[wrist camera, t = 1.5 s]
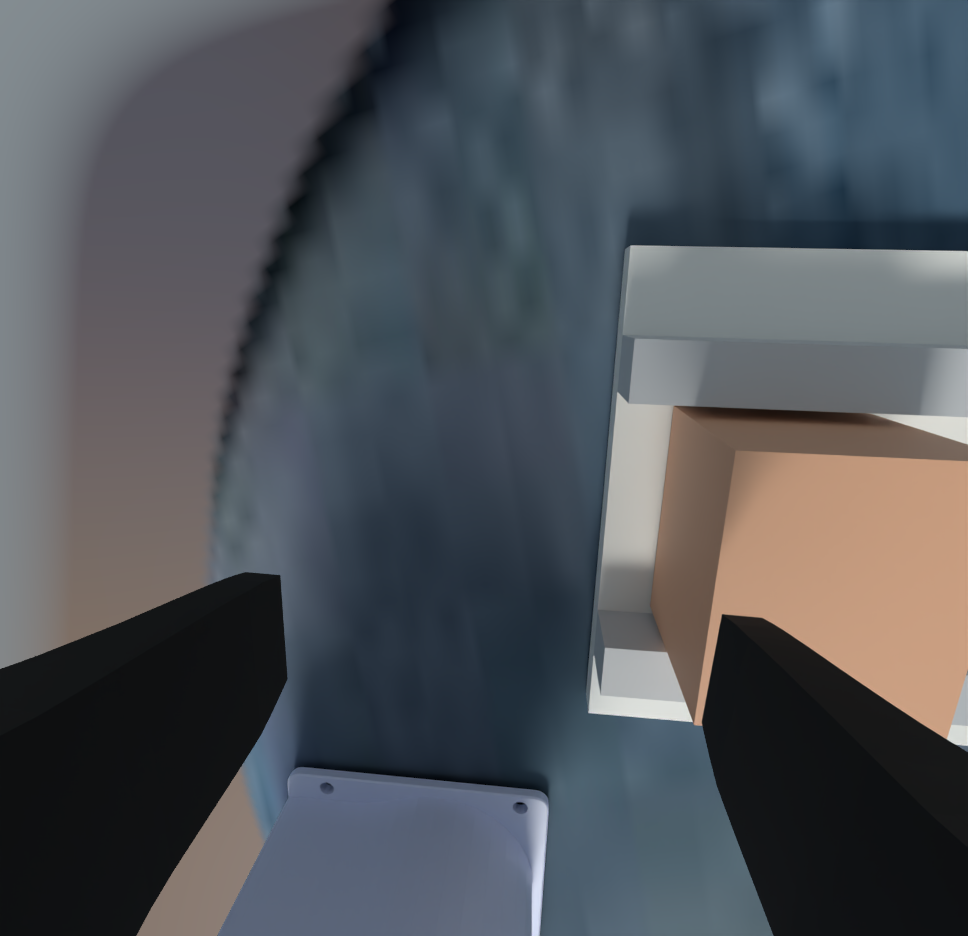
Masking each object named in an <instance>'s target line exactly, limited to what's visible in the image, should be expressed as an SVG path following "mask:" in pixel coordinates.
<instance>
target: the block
mask: <svg viewBox="0 0 968 936" xmlns="http://www.w3.org/2000/svg"><path fill="white" fill-rule="evenodd" d="M650 607H651V610H652V613H653V616H654V618H655V621H656V624H657V626H658V629H659V632H660V634H661V637H662V640H663V643H664V645H665V648H666V651H667V653H668V656H669V659H670V661H671V664H672V667H673V670H674V672H675V675H676V678H677V680H678V683H679V686H680V689H681V691H682V694H683V697H684V699H685V702H686V705H687V707H688V710H689V713H690V716H691V718H692V721H693V724H694V725H701V726H702V717H703V712H704V707H705V701H706V696H707V691H708V685H709V680H710V675H711V669H712V664H713V659H714V654H715V648H716V643H717V638H718V632H719V627H720V622H721V617H722V614H726V615H737V616H748V617H760V618H764V619H765V620H767V621H769V622H771V623H773V624H774V625H776V626H778V627H779V628H781V629H782V630H784V631H785V632H787V633H789V634H790V635H792V636H793V637H794V638H796V639H797V640H799V641H800V642H802V643H803V644H805V645H806V646H808V647H809V648H811V649H812V650H814V651H815V652H816V653H818V654H819V655H821V656H822V657H824V658H825V659H827V660H828V661H829V662H831V663H832V664H834V665H835V666H837V667H838V668H840V669H841V670H842V671H844V672H845V673H847V674H848V675H850V676H851V677H853V678H854V679H856V680H857V681H858V682H860V683H861V684H863V685H864V686H866V687H867V688H869V689H870V690H872V691H873V692H875V693H876V694H878V695H879V696H881V697H882V698H884V699H885V700H886V701H888V702H889V703H891V704H892V705H894V706H895V707H897V708H899V709H900V710H902V711H903V712H905V713H906V714H908V715H909V716H911V717H912V718H914V719H915V720H917V721H918V722H920V723H921V724H923V725H925V726H926V727H928V728H929V729H931V730H933V731H934V732H936V733H937V734H939V735H941V736H942V737H944V738H945V739H947V737H948V734H949V731H950V727H951V724H952V721H953V717H954V714H955V711H956V707H957V704H958V701H959V697H960V694H961V691H962V687H963V684H964V681H965V677H966V674H967V671H968V444H965V443H961V442H958V441H955V440H952V439H949V438H946V437H942V436H939V435H936V434H933V433H930V432H927V431H924V430H920V429H917V428H914V427H911V426H908V425H905V424H902V423H898V422H895V421H892V420H889V419H886V418H883V417H880V416H876V415H873V414H869V413H844V412H819V411H794V410H769V409H745V408H720V407H695V406H674V408H673V416H672V425H671V433H670V442H669V450H668V458H667V467H666V475H665V484H664V492H663V501H662V509H661V518H660V526H659V534H658V543H657V551H656V560H655V568H654V577H653V585H652V593H651V602H650Z"/></svg>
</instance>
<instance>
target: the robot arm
mask: <svg viewBox="0 0 968 936" xmlns="http://www.w3.org/2000/svg"><path fill="white" fill-rule="evenodd" d="M286 681H287V666H286V652H285V638H284V623H283V609H282V595H281V580H280V575H271V574H260V573H249V572H245V573H241V574H238V575H235V576H232V577H229V578H226V579H223V580H221V581H218V582H215V583H213V584H210V585H208V586H205V587H203V588H201V589H198V590H196V591H194V592H191V593H189V594H187V595H184V596H182V597H180V598H177V599H175V600H173V601H170V602H168V603H166V604H163V605H161V606H159V607H156V608H154V609H152V610H149V611H147V612H145V613H142V614H140V615H138V616H135V617H133V618H131V619H128V620H126V621H124V622H121V623H119V624H117V625H114V626H111V627H109V628H106V629H104V630H102V631H99V632H96V633H94V634H91V635H89V636H86V637H84V638H81V639H79V640H77V641H74V642H71V643H69V644H66V645H64V646H61V647H58V648H56V649H53V650H51V651H48V652H46V653H44V654H41V655H38V656H35V657H33V658H30V659H27V660H24V661H22V662H19V663H16V664H13V665H10V666H8V667H5V668H2V669H0V936H136V935H137V933H138V932H139V930H140V928H141V926H142V924H143V922H144V920H145V918H146V917H147V915H148V913H149V911H150V909H151V907H152V906H153V904H154V902H155V901H156V899H157V897H158V896H159V894H160V892H161V891H162V889H163V887H164V886H165V884H166V882H167V881H168V879H169V877H170V876H171V874H172V872H173V871H174V869H175V868H176V866H177V865H178V863H179V861H180V860H181V858H182V857H183V855H184V854H185V852H186V851H187V849H188V848H189V846H190V845H191V843H192V842H193V840H194V838H195V837H196V835H197V834H198V832H199V831H200V829H201V828H202V826H203V824H204V823H205V821H206V820H207V818H208V817H209V815H210V813H211V812H212V811H213V809H214V808H215V806H216V804H217V803H218V801H219V800H220V798H221V797H222V795H223V794H224V792H225V791H226V789H227V788H228V786H229V785H230V783H231V781H232V780H233V778H234V777H235V775H236V774H237V772H238V770H239V769H240V767H241V766H242V764H243V763H244V761H245V759H246V758H247V756H248V755H249V753H250V752H251V750H252V748H253V747H254V745H255V744H256V742H257V740H258V739H259V737H260V736H261V734H262V732H263V730H264V728H265V726H266V724H267V722H268V720H269V718H270V716H271V714H272V712H273V710H274V707H275V705H276V703H277V701H278V699H279V696H280V694H281V692H282V690H283V688H284V685H285V683H286ZM702 726H703V730H704V735H705V739H706V743H707V748H708V752H709V757H710V760H711V764H712V768H713V772H714V776H715V780H716V784H717V787H718V790H719V793H720V795H721V798H722V801H723V804H724V806H725V809H726V812H727V814H728V817H729V820H730V822H731V825H732V828H733V830H734V833H735V836H736V838H737V841H738V844H739V846H740V849H741V852H742V854H743V857H744V859H745V862H746V865H747V867H748V870H749V872H750V875H751V878H752V880H753V883H754V886H755V888H756V891H757V893H758V896H759V899H760V901H761V904H762V907H763V909H764V912H765V914H766V917H767V920H768V922H769V925H770V927H771V930H772V933H773V935H774V936H968V752H966V751H965V750H963V749H961V748H960V747H958V746H957V745H955V744H953V743H952V742H950V741H949V740H947V739H945V738H944V737H942V736H941V735H939V734H937V733H936V732H934V731H933V730H931V729H929V728H928V727H926V726H925V725H923V724H921V723H920V722H918V721H917V720H915V719H914V718H912V717H911V716H909V715H908V714H906V713H905V712H903V711H902V710H900V709H899V708H897V707H895V706H894V705H892V704H891V703H889V702H888V701H886V700H885V699H884V698H882V697H881V696H879V695H878V694H876V693H875V692H873V691H872V690H870V689H869V688H867V687H866V686H864V685H863V684H861V683H860V682H858V681H857V680H856V679H854V678H853V677H851V676H850V675H848V674H847V673H845V672H844V671H842V670H841V669H840V668H838V667H837V666H835V665H834V664H832V663H831V662H829V661H828V660H827V659H825V658H824V657H822V656H821V655H819V654H818V653H816V652H815V651H814V650H812V649H811V648H809V647H808V646H806V645H805V644H803V643H802V642H800V641H799V640H797V639H796V638H794V637H793V636H792V635H790V634H789V633H787V632H785V631H784V630H782V629H781V628H779V627H778V626H776V625H774V624H773V623H771V622H769V621H767V620H765V619H764V618H760V617H748V616H737V615H726V614H722V617H721V622H720V627H719V632H718V638H717V643H716V648H715V654H714V659H713V664H712V669H711V675H710V680H709V685H708V691H707V696H706V701H705V707H704V712H703V717H702ZM326 782H327V783H330V784H331V785H332V786H331V785H328V784H326ZM287 785H288V796H289V798H288V799H287V801H286V803H285V805H284V807H283V809H282V811H281V813H280V815H279V817H278V819H277V820H276V822H275V824H274V826H273V828H272V830H271V832H270V834H269V836H268V838H267V840H266V842H265V844H264V846H263V848H262V850H261V852H260V853H259V856H258V858H257V860H256V861H255V863H254V865H253V867H252V869H251V871H250V873H249V875H248V877H247V879H246V881H245V883H244V885H243V887H242V889H241V891H240V892H239V894H238V896H237V898H236V900H235V902H234V904H233V906H232V908H231V910H230V912H229V914H228V916H227V918H226V920H225V922H224V924H223V925H222V927H221V929H220V931H219V933H218V935H217V936H540V925H541V911H542V897H543V883H544V869H545V855H546V841H547V827H548V814H549V802H548V798H547V796H546V795H545V794H544V793H542V792H541V791H538V790H531V789H521V788H511V787H501V786H491V785H480V784H470V783H460V782H450V781H440V780H430V779H419V778H409V777H399V776H389V775H379V774H369V773H358V772H348V771H338V770H328V769H318V768H307V767H298V768H296V769H294V770H293V771H292V773H291V775H290V776H289V778H288V783H287ZM516 802H522V803H525V804H522V805H520V804H517V803H516Z"/></svg>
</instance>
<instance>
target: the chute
mask: <svg viewBox="0 0 968 936" xmlns="http://www.w3.org/2000/svg"><path fill="white" fill-rule="evenodd" d="M674 406H695V407H720V408H745V409H769V410H794V411H819V412H844V413H869V414H873V415H876V416H880V417H883V418H886V419H889V420H892V421H895V422H898V423H902V424H905V425H908V426H911V427H914V428H917V429H920V430H924V431H927V432H930V433H933V434H936V435H939V436H942V437H946V438H949V439H952V440H955V441H958V442H961V443H965V444H968V251H930V250H871V249H813V248H754V247H696V246H638V245H630V246H629V247H628V248H626V249H625V255H624V266H623V277H622V289H621V300H620V311H619V323H618V334H617V346H616V357H615V368H614V380H613V391H612V402H611V414H610V425H609V436H608V448H607V459H606V471H605V482H604V493H603V505H602V516H601V527H600V539H599V550H598V561H597V573H596V584H595V596H594V607H593V618H592V630H591V641H590V652H589V664H588V675H587V686H586V697H587V706H588V713H595V714H606V715H618V716H630V717H641V718H653V719H664V720H676V721H688V722H693V721H692V718H691V716H690V713H689V710H688V707H687V705H686V702H685V699H684V697H683V694H682V691H681V689H680V686H679V683H678V680H677V678H676V675H675V672H674V670H673V667H672V664H671V661H670V659H669V656H668V653H667V651H666V648H665V645H664V643H663V640H662V637H661V634H660V632H659V629H658V626H657V624H656V621H655V618H654V616H653V613H652V610H651V607H650V602H651V593H652V585H653V577H654V568H655V560H656V551H657V543H658V534H659V526H660V518H661V509H662V501H663V492H664V484H665V475H666V467H667V458H668V450H669V442H670V433H671V425H672V416H673V408H674ZM947 740H949V741H950V742H952V743H953V744H955V745H966V746H968V671H967V674H966V677H965V681H964V684H963V687H962V691H961V694H960V697H959V701H958V704H957V707H956V711H955V714H954V717H953V721H952V724H951V727H950V731H949V734H948V737H947Z"/></svg>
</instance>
